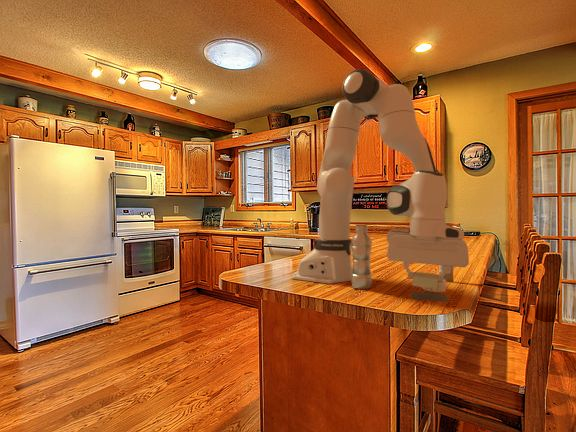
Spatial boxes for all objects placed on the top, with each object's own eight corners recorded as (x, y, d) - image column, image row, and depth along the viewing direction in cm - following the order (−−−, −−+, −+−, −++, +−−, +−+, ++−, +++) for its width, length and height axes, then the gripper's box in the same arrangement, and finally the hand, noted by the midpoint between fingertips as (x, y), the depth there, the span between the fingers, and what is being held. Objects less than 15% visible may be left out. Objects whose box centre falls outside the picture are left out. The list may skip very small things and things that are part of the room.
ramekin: (422, 292, 93) (422, 281, 93) (421, 287, 99) (421, 276, 99) (447, 294, 90) (447, 282, 90) (444, 289, 97) (444, 277, 96)
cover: (412, 285, 83) (412, 276, 83) (413, 280, 90) (413, 271, 90) (437, 288, 81) (437, 279, 81) (436, 282, 88) (436, 274, 88)
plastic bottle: (351, 291, 95) (351, 225, 95) (350, 285, 102) (350, 224, 101) (373, 291, 94) (373, 225, 94) (370, 286, 101) (370, 224, 100)
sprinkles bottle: (456, 282, 105) (456, 242, 105) (448, 284, 103) (449, 243, 102) (443, 279, 109) (443, 241, 109) (435, 281, 107) (435, 242, 106)
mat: (412, 300, 85) (412, 298, 85) (411, 293, 92) (411, 291, 92) (449, 304, 82) (449, 301, 82) (445, 296, 89) (445, 294, 89)
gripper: (385, 228, 86) (384, 277, 87) (470, 232, 78) (468, 287, 78) (388, 227, 92) (386, 273, 93) (467, 231, 84) (465, 282, 84)
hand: (424, 280), depth 85 cm, fingers closed on cover, 6 cm apart
